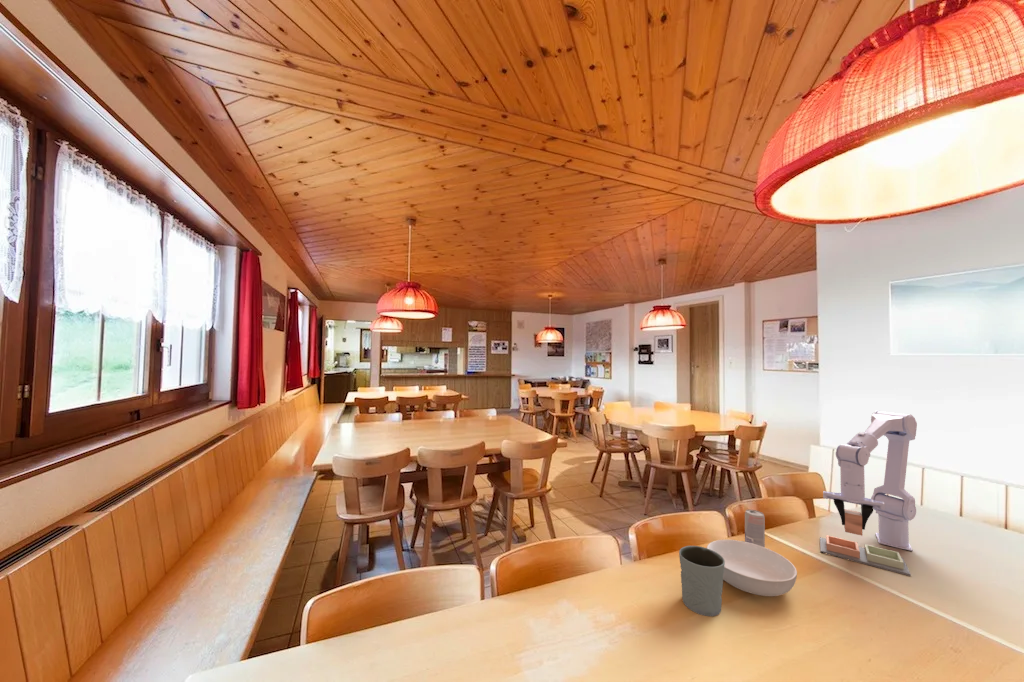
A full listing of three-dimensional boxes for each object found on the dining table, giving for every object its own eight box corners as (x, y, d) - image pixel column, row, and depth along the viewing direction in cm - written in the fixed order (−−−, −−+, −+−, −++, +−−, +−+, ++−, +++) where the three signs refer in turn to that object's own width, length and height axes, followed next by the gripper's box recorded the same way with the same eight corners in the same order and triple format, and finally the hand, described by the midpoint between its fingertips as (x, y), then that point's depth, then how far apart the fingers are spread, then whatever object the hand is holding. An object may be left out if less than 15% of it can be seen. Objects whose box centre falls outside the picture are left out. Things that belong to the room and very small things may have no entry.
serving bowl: (697, 584, 102) (697, 558, 102) (716, 555, 118) (716, 532, 118) (793, 621, 88) (793, 590, 88) (800, 582, 104) (799, 556, 104)
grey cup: (720, 597, 96) (720, 549, 97) (729, 624, 87) (729, 570, 87) (677, 589, 99) (677, 542, 100) (680, 613, 90) (681, 561, 90)
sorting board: (820, 538, 130) (819, 531, 130) (902, 559, 118) (902, 550, 118) (820, 552, 121) (820, 544, 121) (910, 576, 108) (910, 566, 108)
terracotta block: (844, 527, 123) (844, 508, 123) (861, 531, 121) (860, 512, 121) (845, 531, 120) (845, 512, 120) (862, 535, 118) (862, 516, 118)
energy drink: (758, 547, 123) (758, 509, 124) (768, 555, 118) (768, 516, 118) (741, 546, 124) (741, 508, 124) (750, 554, 118) (750, 515, 119)
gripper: (823, 481, 122) (823, 523, 122) (885, 491, 114) (886, 537, 113) (822, 476, 128) (823, 516, 127) (882, 485, 119) (883, 529, 118)
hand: (853, 526), depth 121 cm, fingers closed on terracotta block, 4 cm apart
